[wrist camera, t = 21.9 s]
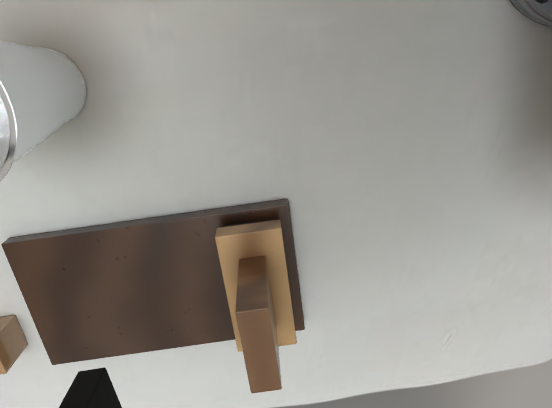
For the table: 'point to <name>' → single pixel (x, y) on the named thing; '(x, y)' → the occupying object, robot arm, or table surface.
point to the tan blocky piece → (10, 342)
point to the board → (136, 282)
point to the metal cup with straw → (34, 97)
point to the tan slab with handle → (257, 296)
